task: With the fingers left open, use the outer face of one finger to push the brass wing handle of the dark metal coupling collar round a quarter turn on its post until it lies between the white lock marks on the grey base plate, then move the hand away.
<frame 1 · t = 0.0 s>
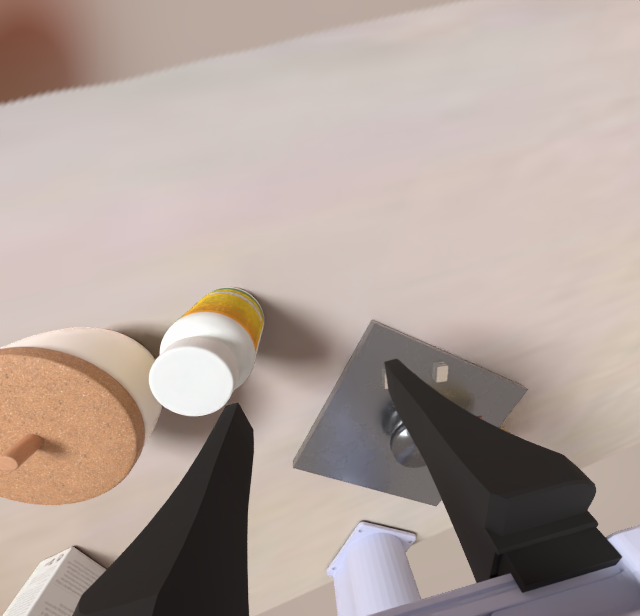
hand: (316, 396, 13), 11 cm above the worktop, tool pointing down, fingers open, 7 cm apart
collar: (455, 452, 24), point 4 cm above the worktop, hinge at 0.0°
skincare box: (80, 564, 30), on the worktop
lidded jar: (119, 366, 23), on the worktop
base plate: (407, 423, 28), on the worktop
supplement bottle: (232, 315, 22), on the worktop
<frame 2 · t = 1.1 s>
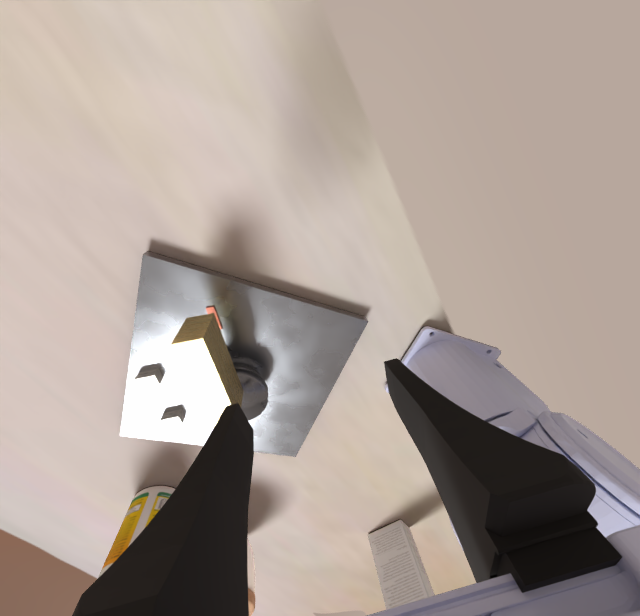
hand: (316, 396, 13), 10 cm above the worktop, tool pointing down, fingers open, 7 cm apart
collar: (222, 385, 19), point 4 cm above the worktop, hinge at 0.0°
skincare box: (388, 529, 43), on the worktop
lidded jar: (218, 529, 36), on the worktop
base plate: (239, 374, 24), on the worktop
supplement bottle: (160, 496, 31), on the worktop
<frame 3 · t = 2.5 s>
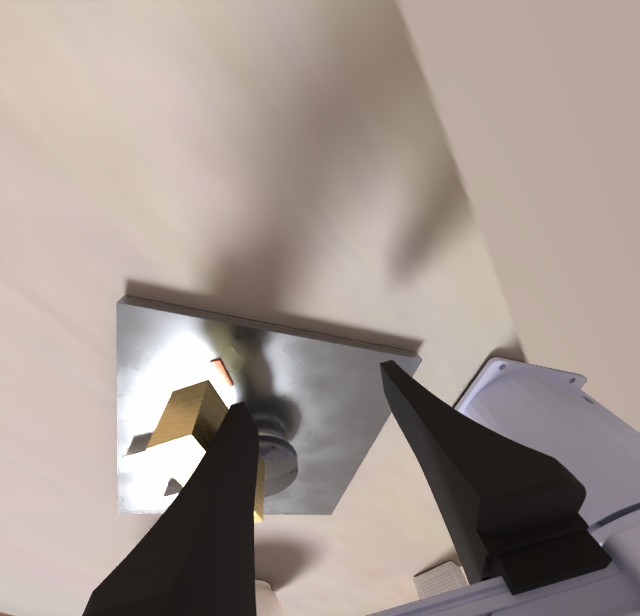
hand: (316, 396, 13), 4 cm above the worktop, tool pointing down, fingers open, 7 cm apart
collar: (235, 468, 14), point 4 cm above the worktop, hinge at 3.7°, touching gripper
skincare box: (436, 569, 38), on the worktop
lidded jar: (244, 588, 31), on the worktop
base plate: (258, 432, 19), on the worktop
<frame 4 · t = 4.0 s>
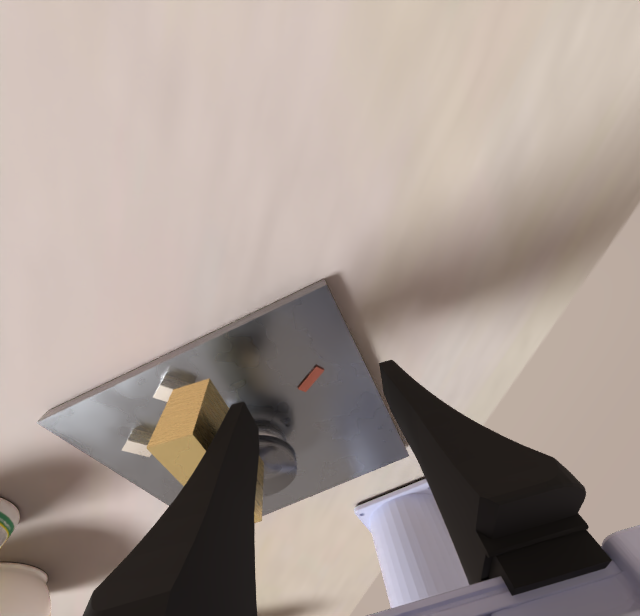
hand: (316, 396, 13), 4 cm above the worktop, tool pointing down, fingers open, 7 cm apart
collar: (234, 468, 14), point 4 cm above the worktop, hinge at 50.7°, touching gripper
lidded jar: (7, 575, 23), on the worktop
base plate: (257, 432, 19), on the worktop
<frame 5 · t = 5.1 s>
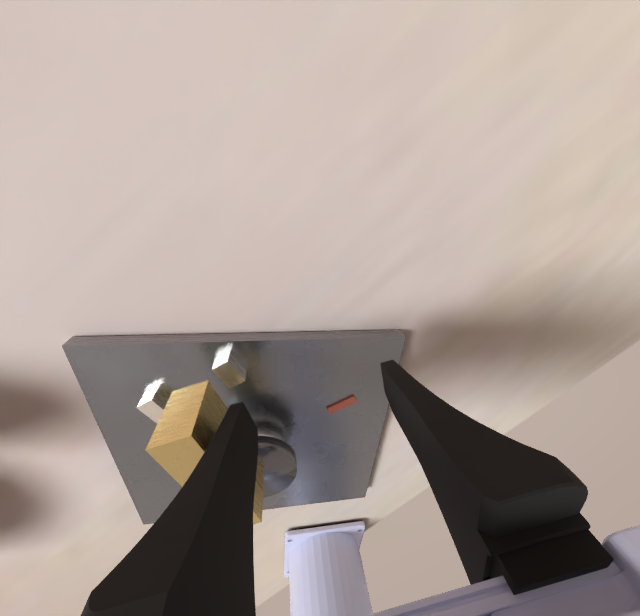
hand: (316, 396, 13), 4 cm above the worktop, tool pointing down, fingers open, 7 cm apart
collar: (234, 469, 14), point 4 cm above the worktop, hinge at 79.2°, touching gripper
base plate: (257, 433, 19), on the worktop
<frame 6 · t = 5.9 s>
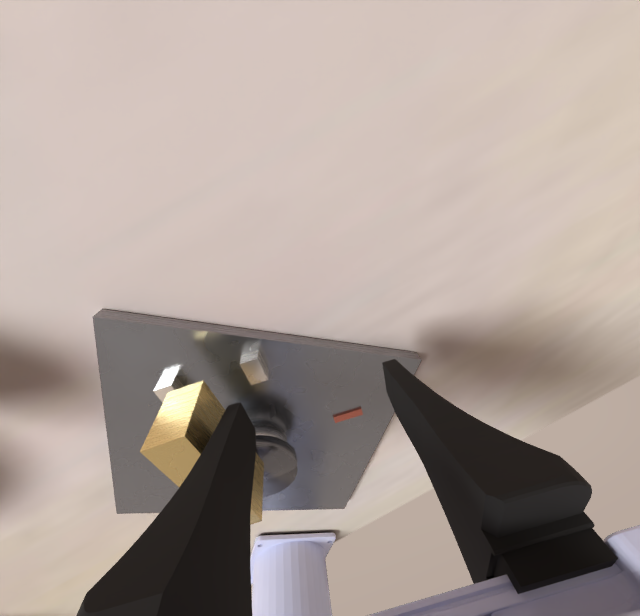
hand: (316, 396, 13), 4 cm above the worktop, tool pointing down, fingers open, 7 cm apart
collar: (233, 469, 14), point 4 cm above the worktop, hinge at 92.1°, touching gripper
base plate: (258, 432, 19), on the worktop
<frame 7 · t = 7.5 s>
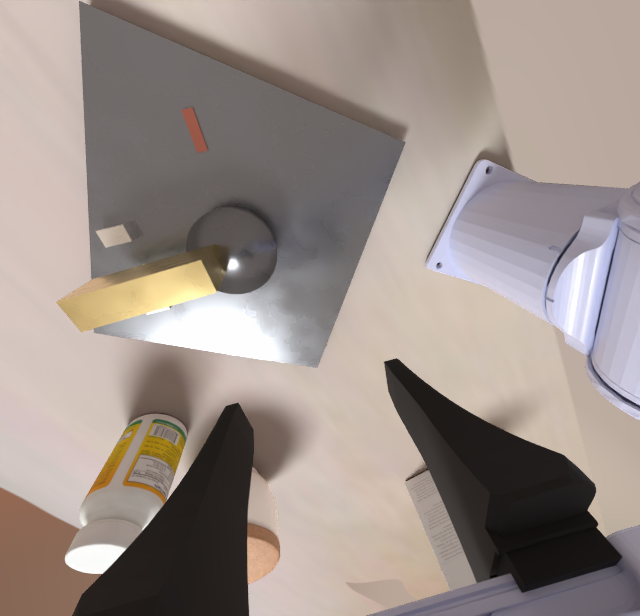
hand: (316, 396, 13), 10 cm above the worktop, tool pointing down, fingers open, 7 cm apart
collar: (183, 273, 15), point 4 cm above the worktop, hinge at 92.2°
skincare box: (428, 475, 37), on the worktop
lidded jar: (231, 476, 31), on the worktop
base plate: (238, 242, 19), on the worktop
supplement bottle: (158, 429, 26), on the worktop
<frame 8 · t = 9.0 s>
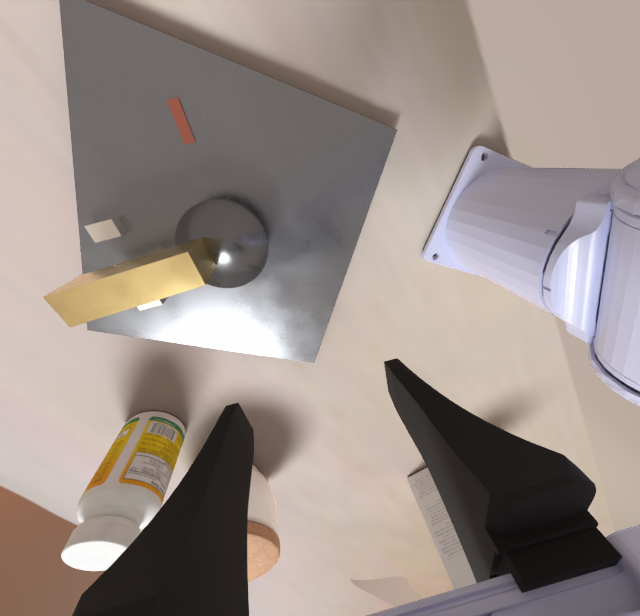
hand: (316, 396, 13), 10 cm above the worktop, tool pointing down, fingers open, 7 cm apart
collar: (172, 267, 15), point 4 cm above the worktop, hinge at 92.2°
skincare box: (430, 471, 37), on the worktop
lidded jar: (231, 474, 31), on the worktop
base plate: (230, 235, 18), on the worktop
supplement bottle: (157, 427, 26), on the worktop
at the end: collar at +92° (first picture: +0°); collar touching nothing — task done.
